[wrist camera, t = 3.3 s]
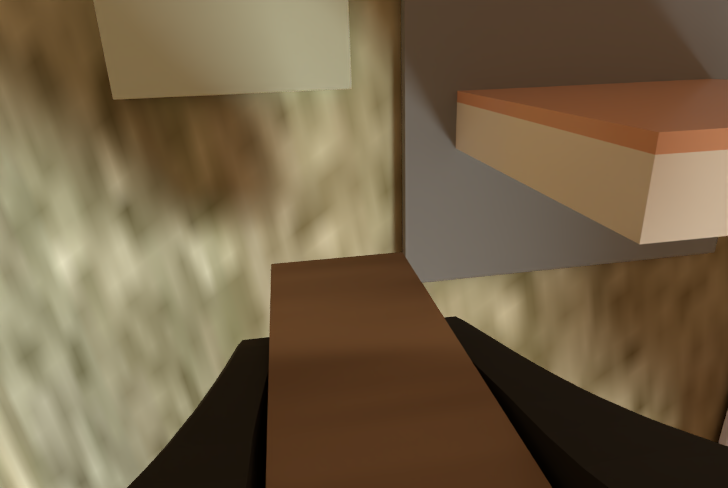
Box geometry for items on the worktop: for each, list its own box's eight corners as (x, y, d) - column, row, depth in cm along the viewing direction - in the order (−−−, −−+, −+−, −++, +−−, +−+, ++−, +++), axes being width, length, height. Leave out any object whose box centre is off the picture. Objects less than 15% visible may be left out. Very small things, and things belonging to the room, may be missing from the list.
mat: (705, 248, 18) (714, 252, 18) (402, 279, 16) (405, 284, 16) (844, -370, 12) (862, -383, 12) (398, -413, 11) (403, -431, 10)
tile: (701, 132, 16) (1073, 201, 8) (455, 148, 15) (639, 244, 7) (711, 79, 15) (1122, 102, 8) (457, 91, 14) (658, 132, 7)
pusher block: (403, 362, 13) (576, 784, 5) (283, 376, 12) (293, 855, 5) (402, 252, 12) (617, 589, 4) (271, 264, 11) (260, 660, 4)
